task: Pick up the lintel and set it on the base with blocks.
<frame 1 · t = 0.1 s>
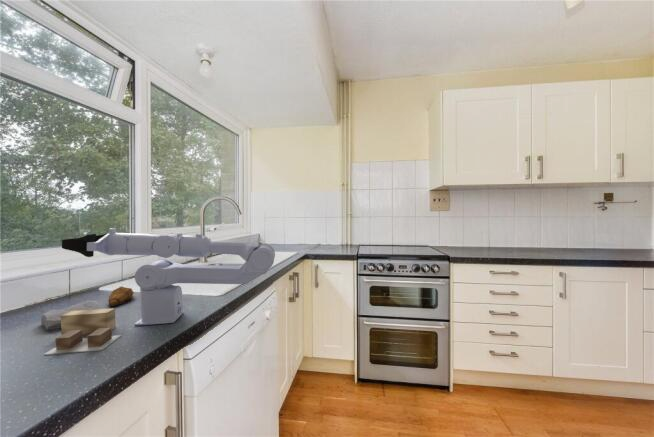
hand: (74, 242, 74), 22 cm above the worktop, tool horizontal, fingers open, 7 cm apart
croissant: (121, 302, 94), on the worktop
stone block: (74, 323, 77), on the worktop
base with blocks: (85, 344, 63), on the worktop
lintel: (89, 332, 70), on the worktop
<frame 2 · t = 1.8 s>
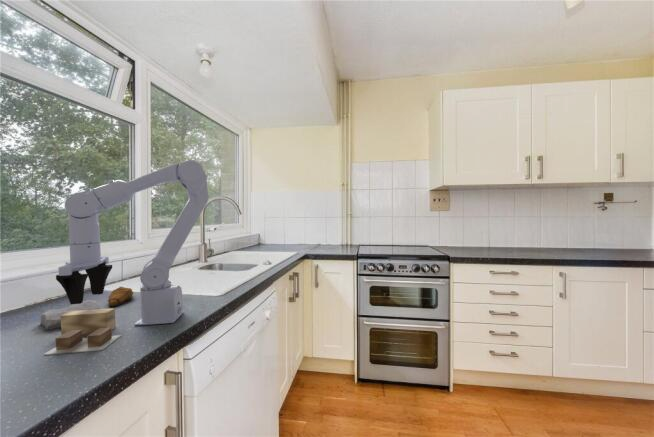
hand: (87, 298, 70), 8 cm above the worktop, tool pointing down, fingers open, 7 cm apart
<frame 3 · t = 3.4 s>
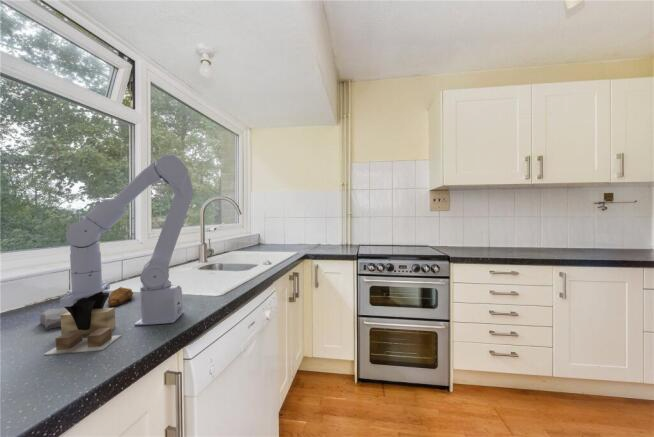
hand: (89, 326, 70), 1 cm above the worktop, tool pointing down, fingers closed on lintel, 3 cm apart
lintel: (89, 331, 70), on the worktop, touching gripper
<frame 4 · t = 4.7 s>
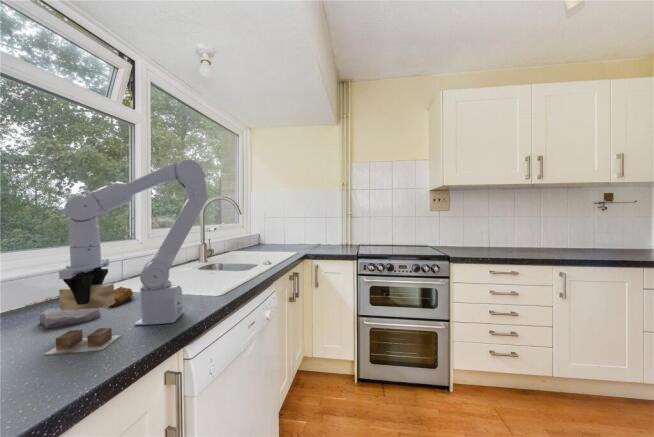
hand: (88, 301, 70), 7 cm above the worktop, tool pointing down, fingers closed on lintel, 3 cm apart
lintel: (88, 306, 70), point 6 cm above the worktop, touching gripper
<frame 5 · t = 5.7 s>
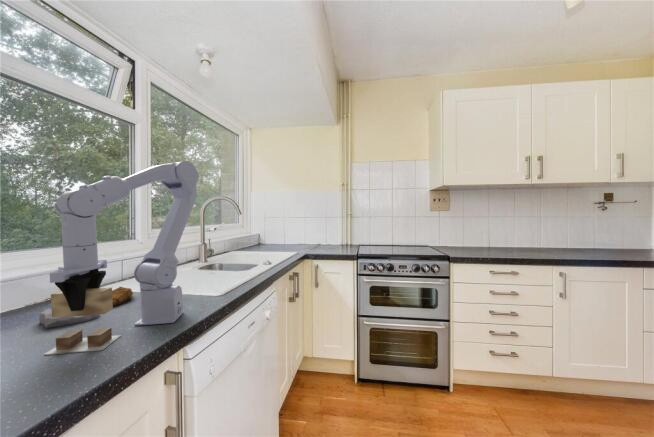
hand: (83, 307, 63), 8 cm above the worktop, tool pointing down, fingers closed on lintel, 3 cm apart
lintel: (83, 313, 63), point 7 cm above the worktop, touching gripper
when the fingers open (5 cm above the worktop, at t = 7.0 s): lintel stays where it is, resting on base with blocks.
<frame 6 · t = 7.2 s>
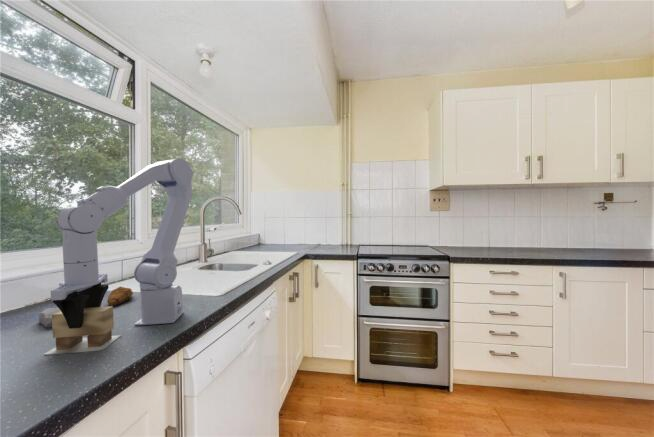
hand: (84, 322, 63), 5 cm above the worktop, tool pointing down, fingers open, 5 cm apart
lintel: (84, 332, 63), point 3 cm above the worktop, touching base with blocks
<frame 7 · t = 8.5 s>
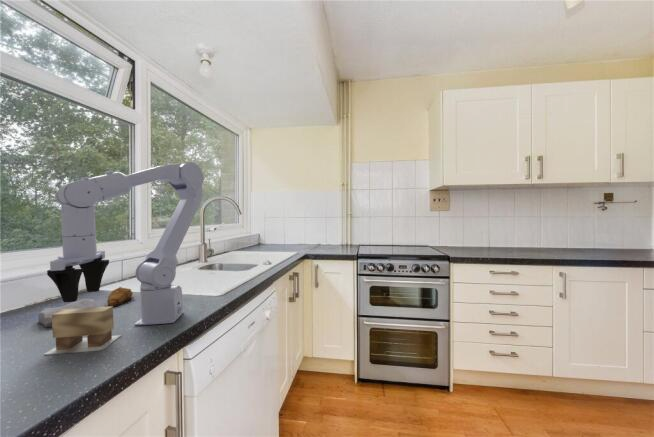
hand: (82, 296, 64), 10 cm above the worktop, tool pointing down, fingers open, 7 cm apart
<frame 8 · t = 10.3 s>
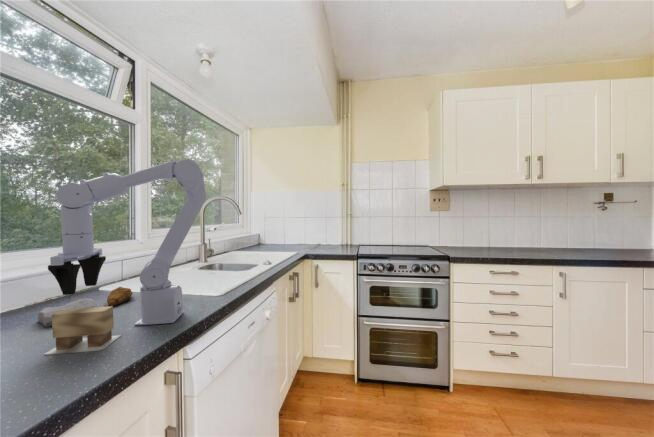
hand: (80, 289, 70), 10 cm above the worktop, tool pointing down, fingers open, 7 cm apart
at the end: lintel 0.0 cm off-centre on the base with blocks, point 2.7 cm above the base with blocks's base; lintel tilted 0°; the gripper is holding nothing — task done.
